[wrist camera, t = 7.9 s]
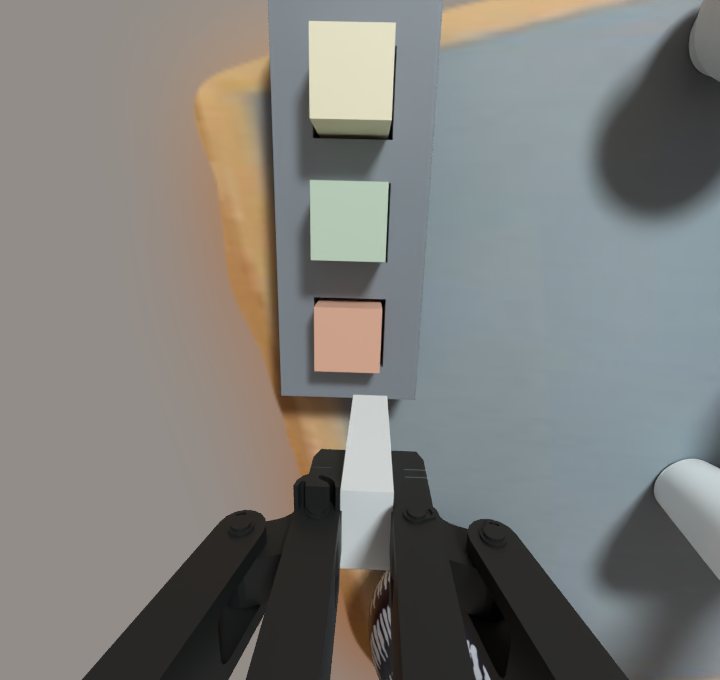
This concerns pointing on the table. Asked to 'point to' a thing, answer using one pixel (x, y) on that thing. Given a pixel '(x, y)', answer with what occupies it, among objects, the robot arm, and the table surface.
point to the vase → (382, 635)
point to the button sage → (348, 220)
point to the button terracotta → (347, 335)
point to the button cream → (351, 78)
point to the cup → (694, 505)
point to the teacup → (706, 39)
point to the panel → (353, 163)
